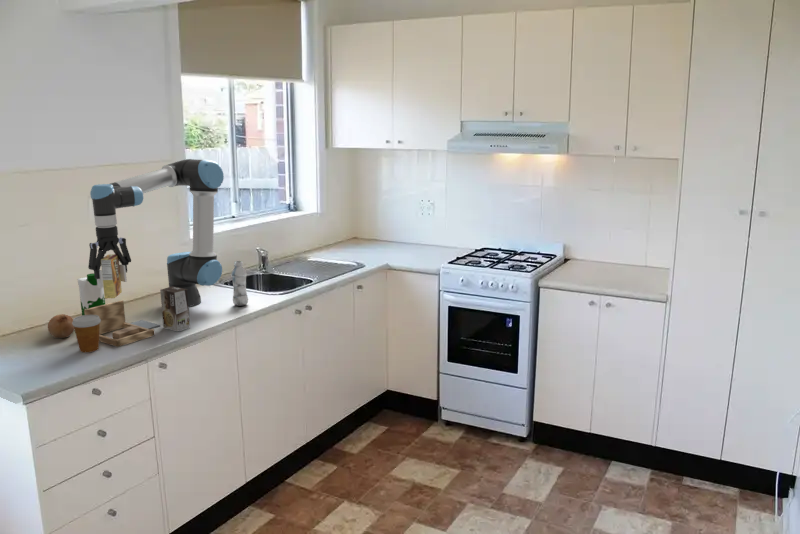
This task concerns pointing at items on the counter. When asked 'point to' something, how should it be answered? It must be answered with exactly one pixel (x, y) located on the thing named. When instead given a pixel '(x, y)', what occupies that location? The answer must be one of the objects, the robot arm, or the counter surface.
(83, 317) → the disposable coffee cup
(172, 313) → the coffee box
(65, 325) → the onion
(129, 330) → the offcut upper
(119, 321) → the rack
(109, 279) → the candy box
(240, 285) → the plastic bottle
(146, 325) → the mat
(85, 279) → the milk carton
